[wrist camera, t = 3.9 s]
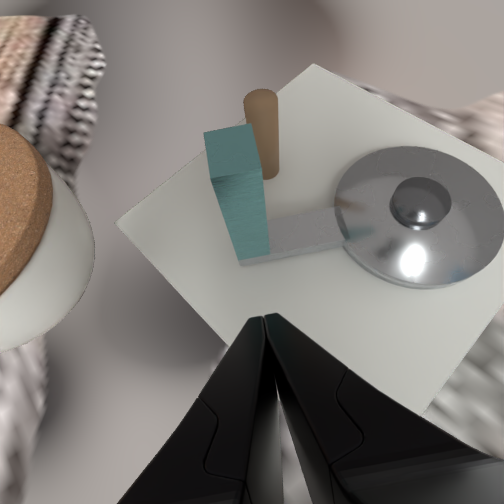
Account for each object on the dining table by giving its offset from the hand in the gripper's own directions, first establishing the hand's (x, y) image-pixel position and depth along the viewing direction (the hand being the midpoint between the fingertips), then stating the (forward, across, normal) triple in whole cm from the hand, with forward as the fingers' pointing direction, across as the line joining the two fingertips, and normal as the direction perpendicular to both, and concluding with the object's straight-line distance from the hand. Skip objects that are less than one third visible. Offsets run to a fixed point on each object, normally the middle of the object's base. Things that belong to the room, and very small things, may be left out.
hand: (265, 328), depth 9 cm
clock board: (+14, -6, +2) cm, 15 cm away
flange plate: (+12, -7, +2) cm, 14 cm away
